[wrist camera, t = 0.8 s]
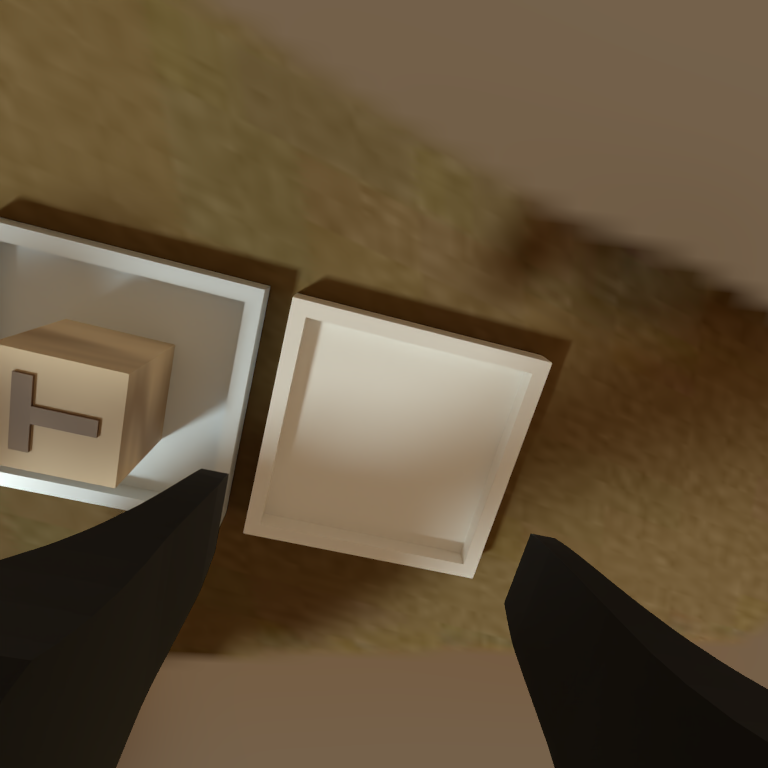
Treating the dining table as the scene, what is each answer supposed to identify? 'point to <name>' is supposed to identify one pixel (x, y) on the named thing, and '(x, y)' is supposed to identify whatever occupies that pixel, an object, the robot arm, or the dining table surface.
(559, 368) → the dining table surface
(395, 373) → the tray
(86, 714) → the robot arm
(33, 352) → the letter cube
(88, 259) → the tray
